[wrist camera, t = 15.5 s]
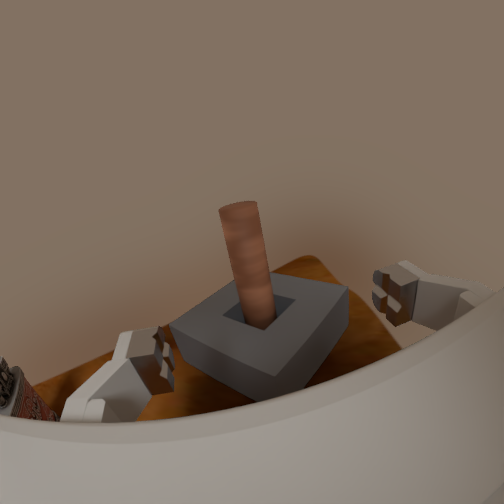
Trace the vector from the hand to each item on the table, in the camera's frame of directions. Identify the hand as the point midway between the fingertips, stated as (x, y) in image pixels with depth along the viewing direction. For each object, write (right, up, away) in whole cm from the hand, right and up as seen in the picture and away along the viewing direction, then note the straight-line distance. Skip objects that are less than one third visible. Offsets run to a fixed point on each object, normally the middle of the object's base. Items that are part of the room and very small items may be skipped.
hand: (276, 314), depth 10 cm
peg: (0, -7, +18) cm, 19 cm away
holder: (+1, -8, +18) cm, 20 cm away
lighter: (-21, -17, +7) cm, 28 cm away
